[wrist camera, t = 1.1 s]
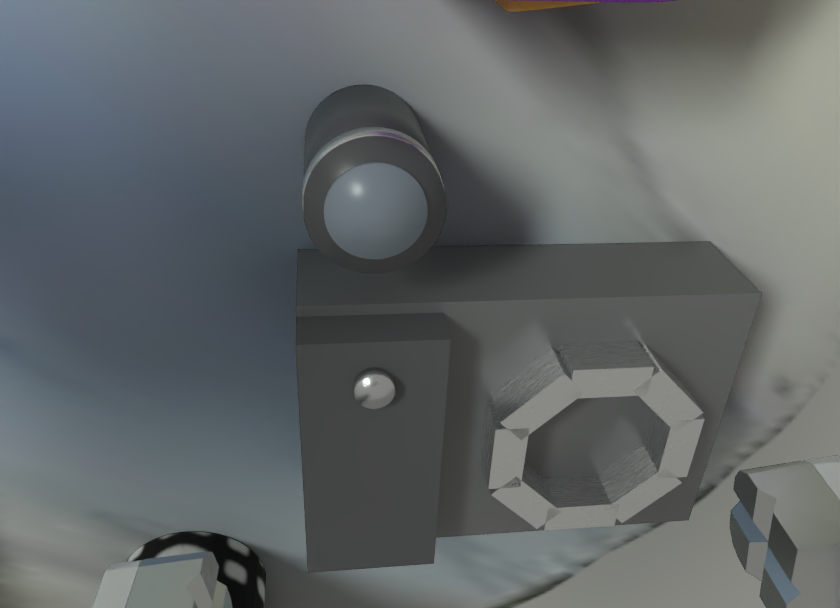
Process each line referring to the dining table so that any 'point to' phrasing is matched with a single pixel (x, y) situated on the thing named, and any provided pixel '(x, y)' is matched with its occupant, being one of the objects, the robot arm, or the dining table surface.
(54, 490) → the dining table surface
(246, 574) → the spotted tube
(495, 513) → the camera body
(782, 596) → the robot arm
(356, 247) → the lens
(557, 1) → the toy camera
